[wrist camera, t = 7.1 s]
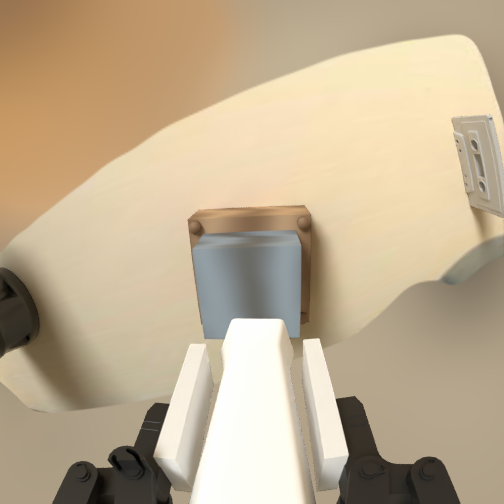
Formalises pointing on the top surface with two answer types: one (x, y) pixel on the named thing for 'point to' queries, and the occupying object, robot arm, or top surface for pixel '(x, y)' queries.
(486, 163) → the cassette
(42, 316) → the top surface
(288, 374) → the perfume bottle
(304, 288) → the blue block on board
